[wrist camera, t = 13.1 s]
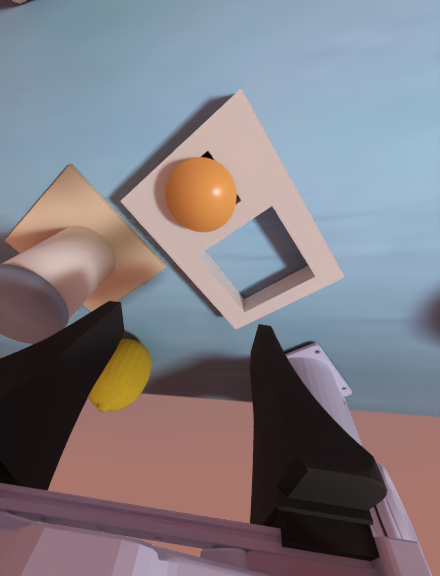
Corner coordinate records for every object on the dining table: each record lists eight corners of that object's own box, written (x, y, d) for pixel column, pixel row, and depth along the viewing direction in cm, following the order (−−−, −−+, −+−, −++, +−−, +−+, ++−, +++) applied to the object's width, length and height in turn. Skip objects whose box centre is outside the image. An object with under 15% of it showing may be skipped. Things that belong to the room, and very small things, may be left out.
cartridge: (114, 229, 20) (49, 279, 13) (120, 285, 23) (68, 349, 16) (48, 218, 20) (-53, 262, 13) (61, 275, 23) (-15, 336, 16)
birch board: (166, 265, 22) (165, 268, 21) (98, 313, 25) (96, 315, 25) (72, 164, 18) (69, 164, 17) (8, 238, 22) (4, 240, 21)
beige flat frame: (336, 264, 20) (344, 277, 19) (236, 315, 24) (235, 329, 22) (241, 92, 15) (241, 88, 13) (131, 194, 18) (120, 201, 17)
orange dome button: (249, 195, 18) (250, 206, 15) (202, 229, 19) (196, 244, 17) (212, 137, 16) (206, 140, 13) (164, 180, 18) (151, 189, 15)
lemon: (165, 358, 28) (141, 428, 22) (121, 358, 29) (84, 427, 23) (153, 322, 26) (120, 391, 19) (104, 323, 26) (56, 390, 20)
